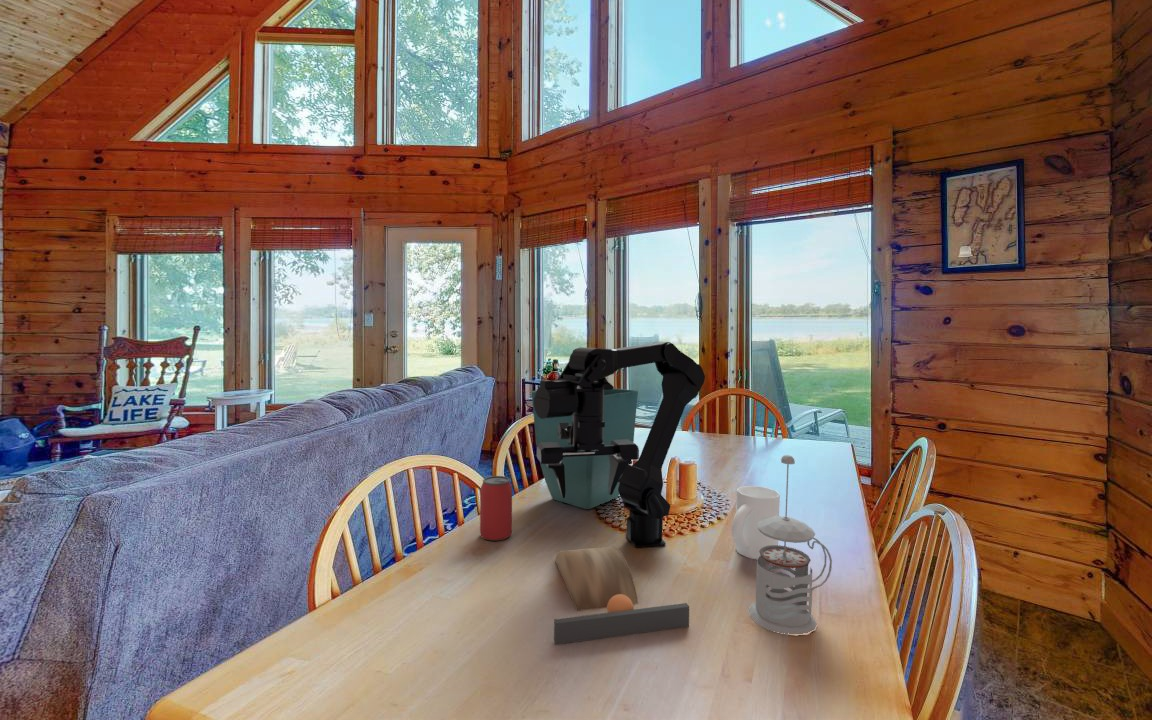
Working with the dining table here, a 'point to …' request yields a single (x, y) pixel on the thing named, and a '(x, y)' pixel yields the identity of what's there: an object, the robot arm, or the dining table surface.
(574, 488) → the flower pot
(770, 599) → the french press
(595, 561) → the hump
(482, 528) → the beer can
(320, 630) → the dining table surface
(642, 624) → the bar
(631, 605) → the ball
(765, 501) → the mug
